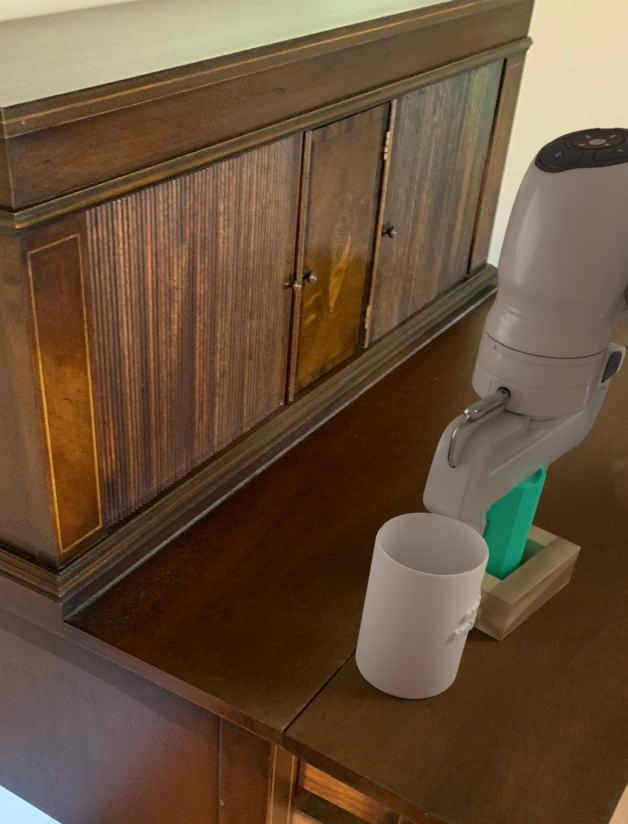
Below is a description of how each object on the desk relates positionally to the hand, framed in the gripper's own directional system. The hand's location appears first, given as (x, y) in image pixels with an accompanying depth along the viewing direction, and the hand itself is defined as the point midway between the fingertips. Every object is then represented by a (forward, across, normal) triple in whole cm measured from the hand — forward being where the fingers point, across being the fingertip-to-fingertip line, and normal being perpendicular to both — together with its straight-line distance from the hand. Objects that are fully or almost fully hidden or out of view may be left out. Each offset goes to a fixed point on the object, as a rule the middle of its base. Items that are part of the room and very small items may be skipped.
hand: (494, 521), depth 78 cm
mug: (+7, -12, -1) cm, 14 cm away
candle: (+5, 0, 0) cm, 5 cm away
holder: (+6, 0, 0) cm, 7 cm away
